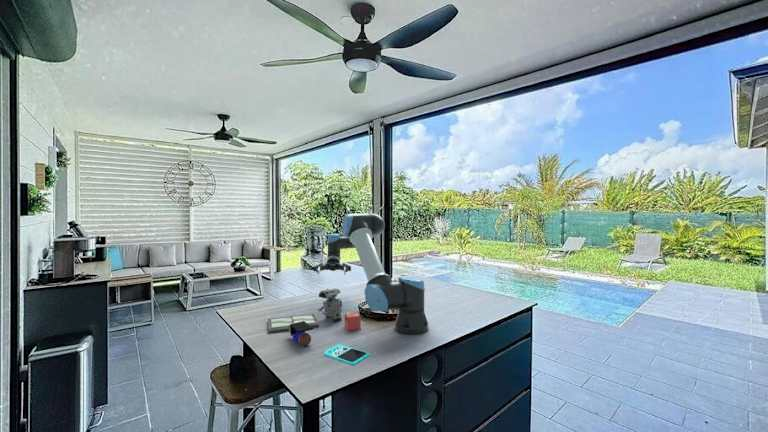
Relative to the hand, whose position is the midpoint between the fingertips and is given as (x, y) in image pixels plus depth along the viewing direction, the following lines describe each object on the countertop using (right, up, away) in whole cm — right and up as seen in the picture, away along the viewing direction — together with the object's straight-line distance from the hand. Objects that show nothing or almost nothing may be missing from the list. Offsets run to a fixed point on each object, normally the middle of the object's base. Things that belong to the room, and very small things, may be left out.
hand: (331, 272), depth 180 cm
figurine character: (-7, -23, -36) cm, 43 cm away
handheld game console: (+13, -24, -49) cm, 56 cm away
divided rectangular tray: (-16, -22, -17) cm, 32 cm away
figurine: (+1, -22, -11) cm, 24 cm away
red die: (+13, -22, -22) cm, 33 cm away
